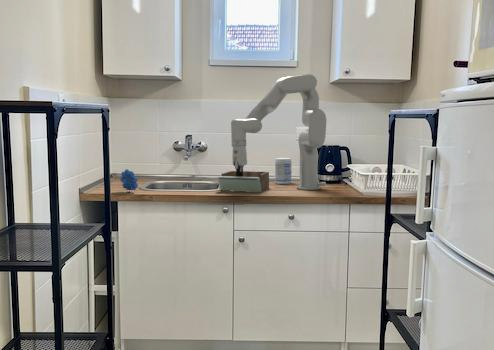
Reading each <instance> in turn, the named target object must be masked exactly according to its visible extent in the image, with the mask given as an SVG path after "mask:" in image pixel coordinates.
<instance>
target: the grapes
mask: <svg viewBox="0 0 494 350" xmlns="http://www.w3.org/2000/svg"><path fill="white" fill-rule="evenodd" d="M120 174H121V177H120V182H121V183H122V188H123V189H125V190H126V191H127V190H136V191H137V188H138V187H139V184H138V183H137V182H138V180H139V179H138V177H137V176H135V172H134V171H132V170H131V171H130V169H126V168H125V170H124V171H122V172H121V173H120Z"/></svg>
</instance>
